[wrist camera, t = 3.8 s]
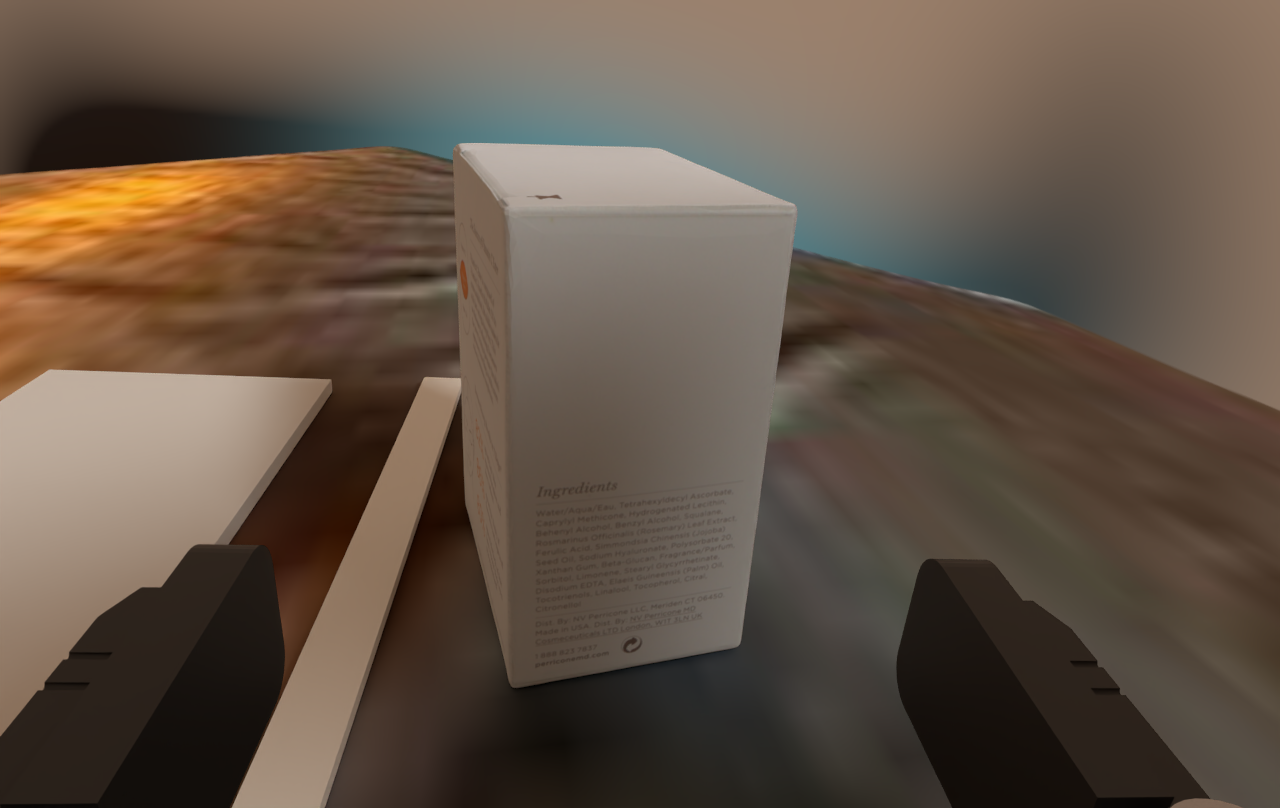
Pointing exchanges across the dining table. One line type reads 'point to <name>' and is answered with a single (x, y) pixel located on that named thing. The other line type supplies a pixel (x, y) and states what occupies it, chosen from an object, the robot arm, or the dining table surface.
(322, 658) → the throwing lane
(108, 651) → the robot arm
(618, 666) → the small box
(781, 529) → the dining table surface
